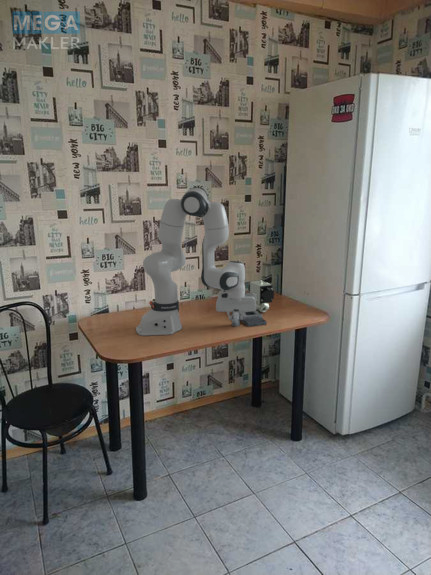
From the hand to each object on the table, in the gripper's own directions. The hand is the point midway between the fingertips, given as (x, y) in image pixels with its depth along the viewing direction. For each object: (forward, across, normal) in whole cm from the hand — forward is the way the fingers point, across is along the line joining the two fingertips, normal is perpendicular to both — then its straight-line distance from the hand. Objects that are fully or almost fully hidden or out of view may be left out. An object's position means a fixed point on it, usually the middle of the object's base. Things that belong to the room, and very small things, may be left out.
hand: (235, 319), depth 210 cm
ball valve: (+3, -16, -24) cm, 29 cm away
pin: (+3, 0, 0) cm, 3 cm away
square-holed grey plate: (+3, -8, -9) cm, 12 cm away
